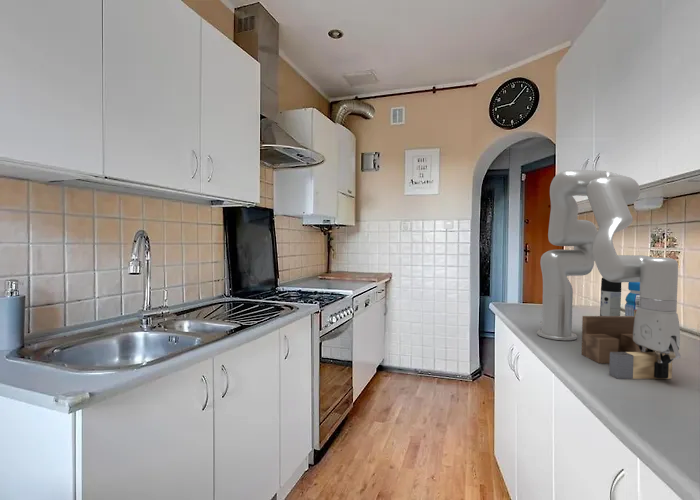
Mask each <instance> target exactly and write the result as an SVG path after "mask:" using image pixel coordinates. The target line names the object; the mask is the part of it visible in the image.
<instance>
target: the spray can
mask: <svg viewBox="0 0 700 500" xmlns="http://www.w3.org/2000/svg"><path fill="white" fill-rule="evenodd" d="M600 284H601V285H600V304H599V305H600V307H599V309H600V310H599V316H621V307H622V304H621V303H622V284H623V282H610V281H608V280H606V279H604V278H603V277H601V283H600Z"/></svg>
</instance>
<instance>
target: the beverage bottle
mask: <svg viewBox="0 0 700 500" xmlns="http://www.w3.org/2000/svg"><path fill="white" fill-rule="evenodd" d="M627 283H628V287H627V289H628V291H629V293H628V294H627V295H626V297H625V302H626V303H625V304H624V312H625V313H624V316H635V314H636V311H637V308H638V307H639V299H640V282H627Z"/></svg>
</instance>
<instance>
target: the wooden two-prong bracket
mask: <svg viewBox="0 0 700 500" xmlns="http://www.w3.org/2000/svg"><path fill="white" fill-rule="evenodd" d="M581 319H582V321H581V323H582V325H581V355H582V356H584V357H585V358H587V359H589V360H591V361H593V362H595V363H597V364H610V352H641V350H640V348H639V347H638V346H637V345H636V343H635V342H634V341H633V326H634V319H635V316H625V315H620V316H600V315H582V317H581Z"/></svg>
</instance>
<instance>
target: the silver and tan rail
mask: <svg viewBox="0 0 700 500" xmlns="http://www.w3.org/2000/svg"><path fill="white" fill-rule="evenodd" d="M664 355H665V354H662V357H663V356H664ZM655 362H657V356H656V351H655V352H610V363H609V365H608V366H609V369H608V370H609V371H608V372H609V373H608V375H609V376H612V377H614V378H615V379H624V380H626V379H628V380H629V379H630V380H631V379H633V380H634V379H640V380H642V379H644V380H645V379H647V380H649V379H650V380H654V379H655V380H656V379H657V380H659V379H660V380H661V379H662V380H663V379H664V380H666V379H667V380H669V379H671V380H672V379H673V376H672V374H673V360H672V361H671V363H670V364H669V371H668V378H655V377H654V368H655Z"/></svg>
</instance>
